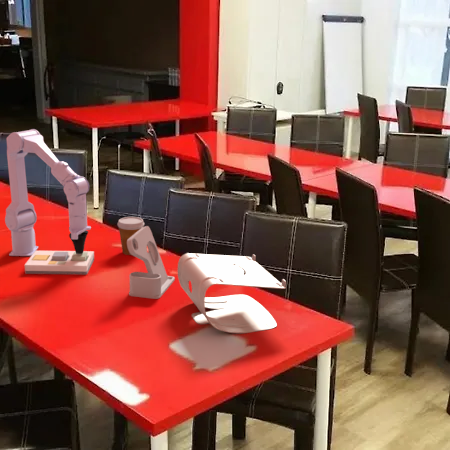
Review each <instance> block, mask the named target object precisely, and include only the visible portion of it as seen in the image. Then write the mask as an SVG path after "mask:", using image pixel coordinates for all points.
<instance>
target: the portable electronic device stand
mask: <svg viewBox="0 0 450 450" xmlns="http://www.w3.org/2000/svg"><path fill="white" fill-rule="evenodd" d="M177 279H178V282H179V285H180V288H182V289H183V291H184V292H185V293H186V294H187V296H188V297H189V299H190V300H191V301H192V302H193V303H194V305H195V306H196V307H197V309H198V310H199V312H194V313H192V314H191V318H192V319H193V320H194V322H195V323H196V324H198V325H207V324H209V325H211V326H212V327H213V328H214V329H216V330H218V331H221V332H225V333H230V334H248V333H254V332H255V333H256V332H262V331H266V330H268V331H269V330H273V329H275V328H277V326H278V324H277V321H276V319H275V318H274V316H273V315H272V314H271V313H270V311H269V310H267V308H265V306H263V305H262V304H261V303H259V301H258V300H255V299H254V298H253V297H251V296H249V295H247V294H230V295H224V296H215V297H211V296H210V297H208V296H207V297H206V293H207V291H208V290H209V288H210V287H212V286H215V285H220V286H221V285H222V286H237V287H238V286H239V287H250V288H251V287H253V288H263V289H264V288H266V289H279V290H281V289H284V290H285V289H287V288H286V284H287V281H286V280H285V279H284V278H282V279H281V282H280V281H279V280H278V279H277V278H276V277H274V276H273V274H271V273H270V272H269V271H268V270H266V269H265V267H263V266H262V265H260V264H259V263H258V262H257V261H256V255H255V254H252V255H251V256H247V255H246V256H245V255H244V256H243V255H226V254H225V255H224V254H207V253H206V254H205V253H192V252H191V253H189V252H186V253H184V254H182V255H181V256H180V258H179V260H178V262H177ZM189 283H190V284H189ZM190 286H191V289H190ZM206 309H208V310H206ZM209 309H210V310H209Z"/></svg>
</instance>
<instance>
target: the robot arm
mask: <svg viewBox="0 0 450 450" xmlns="http://www.w3.org/2000/svg"><path fill="white" fill-rule="evenodd" d="M5 139H6V157H7V167H8V168H7V169H8V178H9V187H10V197H11V202H10V204H9V205H8V206H7V207H6V208H5V217H4V222H5V225H6V227H7V228H8V230H9V231H10V233H11V235H10V236H11V246H12V247H11V248H12V249H11V252H9V254H8V255H9V256H11V257H19V256H20V257H31V256H32V255H33V253H34V252H35V251H38V249H39V246H38V245H36V244H37V243H36V233H35V229H34V227H35V224H36V222H37V219H38V217H37V213H36V210H35V206H34V204H33V203H31V202H30V201H29V196H28V186H27V185H28V184H27V176H26V175H27V174H26V173H27V172H26V163H25V157H26V156H27V155H28V154H35V155H36V156H38V158H40V159H41V160H42V161H43V162H44V163H45V164H46V165H47V166H48V167H50V173H51V175H52V176H53V177H54V178H55V179H56V180H57V181H58V182H59V183H60V185H62V186H63V192H64V194H65V196H66V200H67V203H68V224H69V227H68V229H69V230H68V231H69V232H70V233H69V234H68V237H69V238H70V240H71V242H72V245H73V248H74V251H76V254H83V251H85V244H86V243H85V242H86V238H87V236H88V234H89V231H90V230H91V228H92V227H91V225H88V214H87V213H88V211H87V210H88V209H87V193H89V191H90V182H89V181H88V179H87V178H86V177H84V176H81V175H79V174H77V173H76V172H75V171H74V170H73V169H72V168H71V167H70V166H69V164H68V163H67V162H65V161H60V160H59V159H58V158H57V157H56V155H55V154H54V153H53V151H52V150H51V149H50V148H49V147H48V145H47V144H46V143H45V141H44V136H43V135H42V134H41V133H40V132H39V131H38V130H37V129H35V128H31V129H29V130H22V131H18V132H17V131H16V132H15V131H14V132H11V133H10V134H9V135H8V136H7V137H6V138H5Z"/></svg>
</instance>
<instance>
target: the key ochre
mask: <svg viewBox="0 0 450 450" xmlns="http://www.w3.org/2000/svg"><path fill="white" fill-rule="evenodd" d="M48 258H49V255H35V257H34V258H33V259H32V260H43V261H47V260H48Z"/></svg>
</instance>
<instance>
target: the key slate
mask: <svg viewBox="0 0 450 450" xmlns="http://www.w3.org/2000/svg"><path fill="white" fill-rule="evenodd" d="M67 259H68V252H55V253H54V254H53V256H52V261H67Z"/></svg>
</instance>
